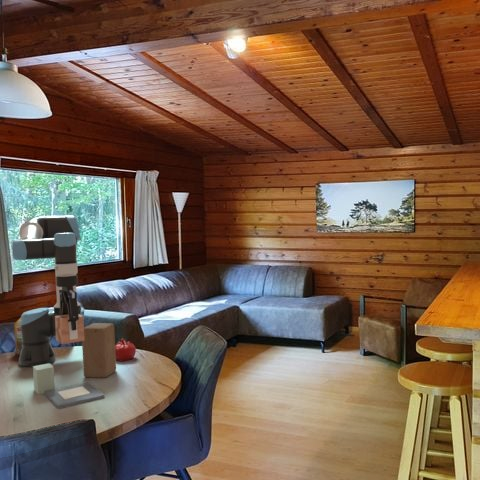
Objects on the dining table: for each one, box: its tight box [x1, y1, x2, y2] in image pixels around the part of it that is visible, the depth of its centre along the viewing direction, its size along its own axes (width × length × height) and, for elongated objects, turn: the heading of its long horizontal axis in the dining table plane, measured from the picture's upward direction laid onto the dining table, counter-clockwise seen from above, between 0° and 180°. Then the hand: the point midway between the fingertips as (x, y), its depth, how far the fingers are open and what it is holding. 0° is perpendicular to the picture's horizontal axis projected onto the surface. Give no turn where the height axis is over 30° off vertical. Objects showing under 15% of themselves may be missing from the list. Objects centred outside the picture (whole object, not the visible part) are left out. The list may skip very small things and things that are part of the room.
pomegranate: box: [115, 338, 137, 362], centre depth 229 cm, size 10×10×9 cm
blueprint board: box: [43, 381, 105, 410], centre depth 185 cm, size 18×16×1 cm
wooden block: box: [81, 322, 117, 379], centre depth 208 cm, size 10×10×20 cm
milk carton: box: [13, 311, 26, 356], centre depth 245 cm, size 11×11×19 cm
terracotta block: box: [55, 314, 85, 345], centre depth 188 cm, size 8×8×9 cm
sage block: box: [32, 363, 56, 395], centre depth 191 cm, size 6×6×9 cm
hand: (70, 336), depth 189 cm, fingers closed on terracotta block, 8 cm apart
